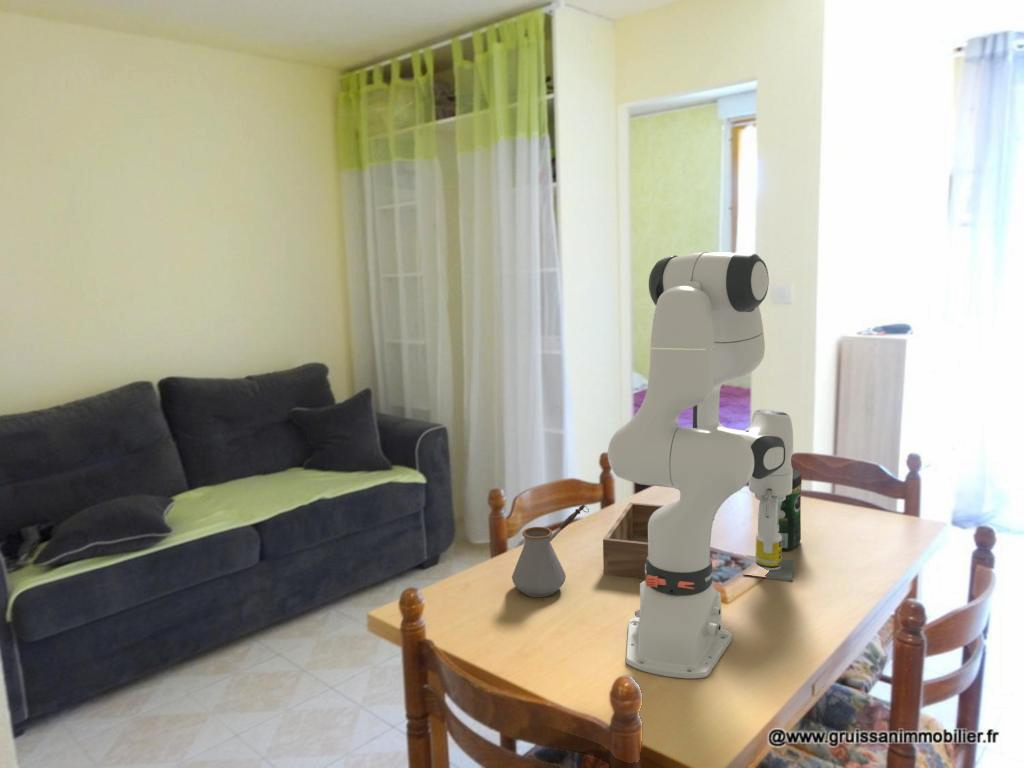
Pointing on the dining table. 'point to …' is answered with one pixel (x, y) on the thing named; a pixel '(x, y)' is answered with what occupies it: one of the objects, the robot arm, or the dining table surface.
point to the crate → (628, 542)
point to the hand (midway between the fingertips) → (769, 543)
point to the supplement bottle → (769, 559)
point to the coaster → (780, 570)
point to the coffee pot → (540, 561)
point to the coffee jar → (791, 514)
